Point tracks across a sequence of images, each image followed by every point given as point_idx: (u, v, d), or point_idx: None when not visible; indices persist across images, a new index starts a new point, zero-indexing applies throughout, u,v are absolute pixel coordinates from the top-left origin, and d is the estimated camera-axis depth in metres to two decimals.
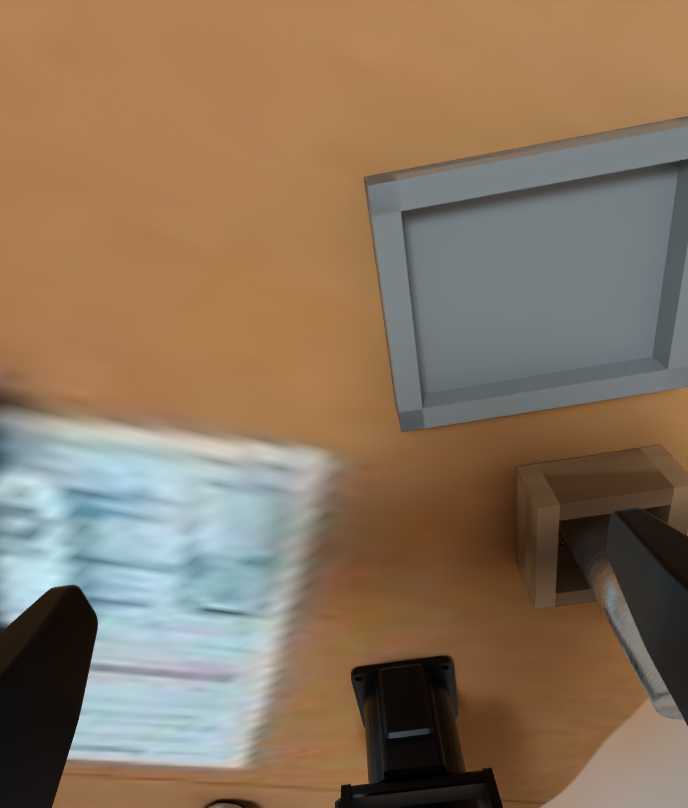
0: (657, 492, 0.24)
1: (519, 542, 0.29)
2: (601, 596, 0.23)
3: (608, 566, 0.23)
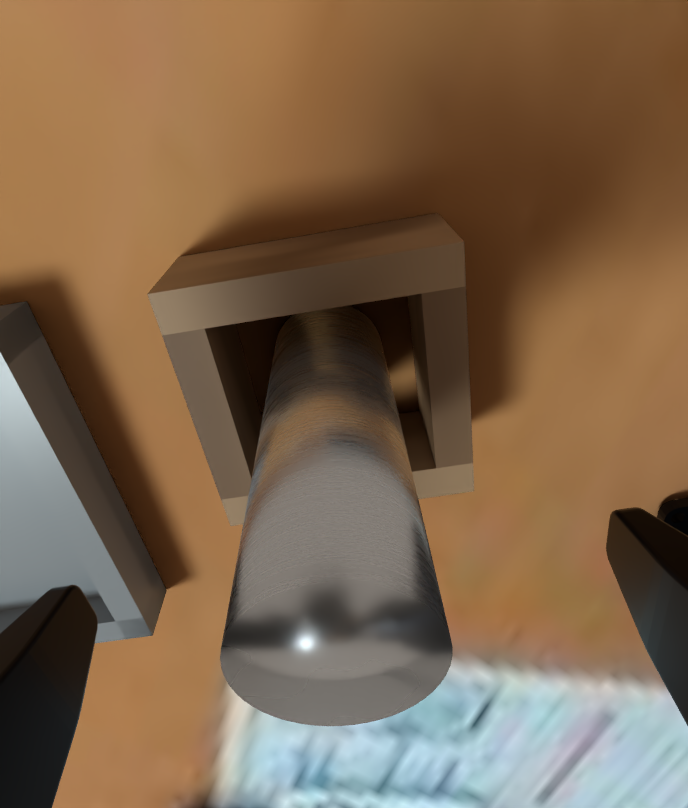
0: (177, 362, 0.13)
1: None
2: None
3: None
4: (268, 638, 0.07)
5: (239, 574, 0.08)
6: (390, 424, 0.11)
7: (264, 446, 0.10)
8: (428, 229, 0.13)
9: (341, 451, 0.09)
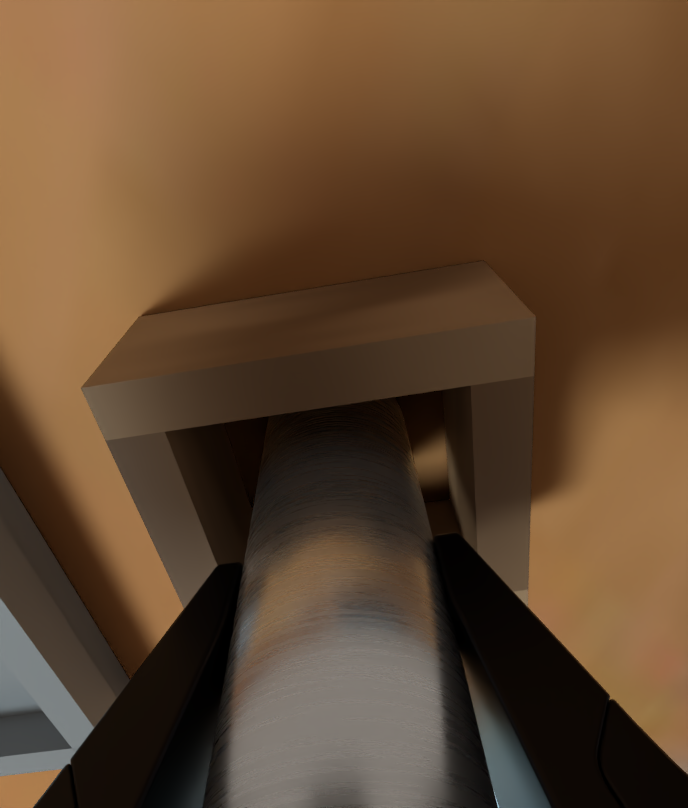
0: (128, 473, 0.09)
1: None
2: None
3: None
4: None
5: None
6: (432, 599, 0.07)
7: (241, 643, 0.07)
8: (476, 289, 0.09)
9: (363, 696, 0.05)
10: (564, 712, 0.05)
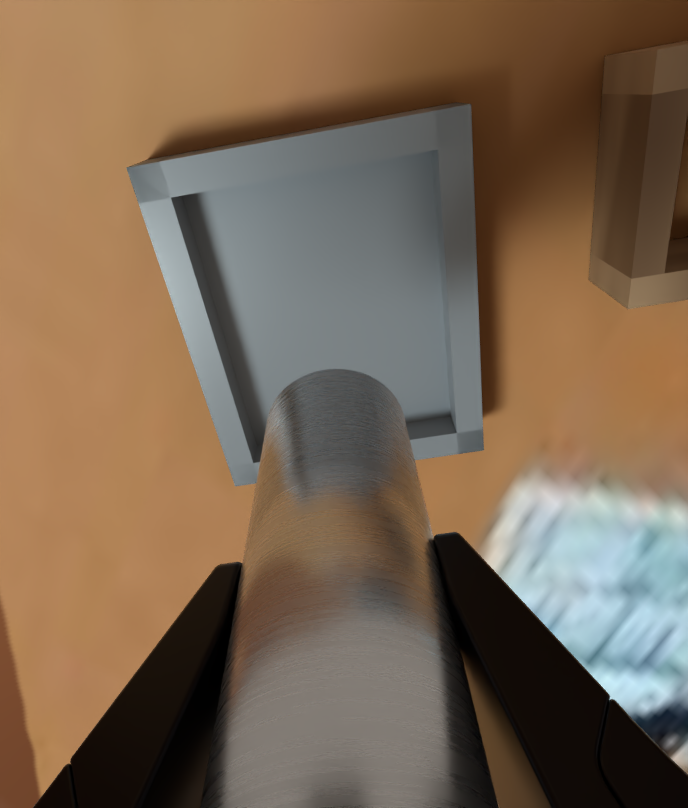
0: (653, 124, 0.14)
1: None
2: None
3: None
4: None
5: None
6: (433, 598, 0.07)
7: (240, 641, 0.07)
8: None
9: (363, 695, 0.05)
10: (564, 712, 0.05)
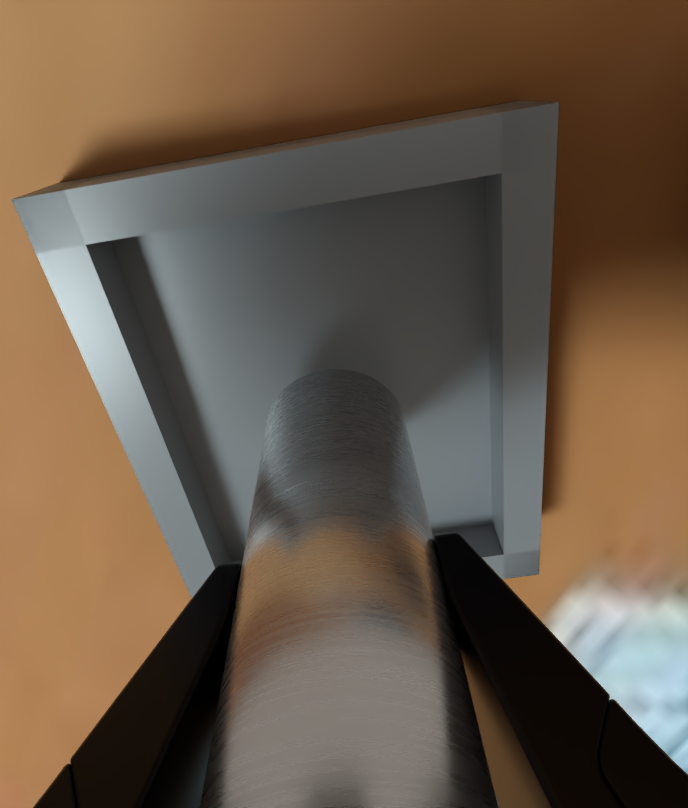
0: None
1: None
2: None
3: None
4: None
5: None
6: (433, 597, 0.07)
7: (240, 642, 0.07)
8: None
9: (363, 695, 0.05)
10: (564, 712, 0.05)
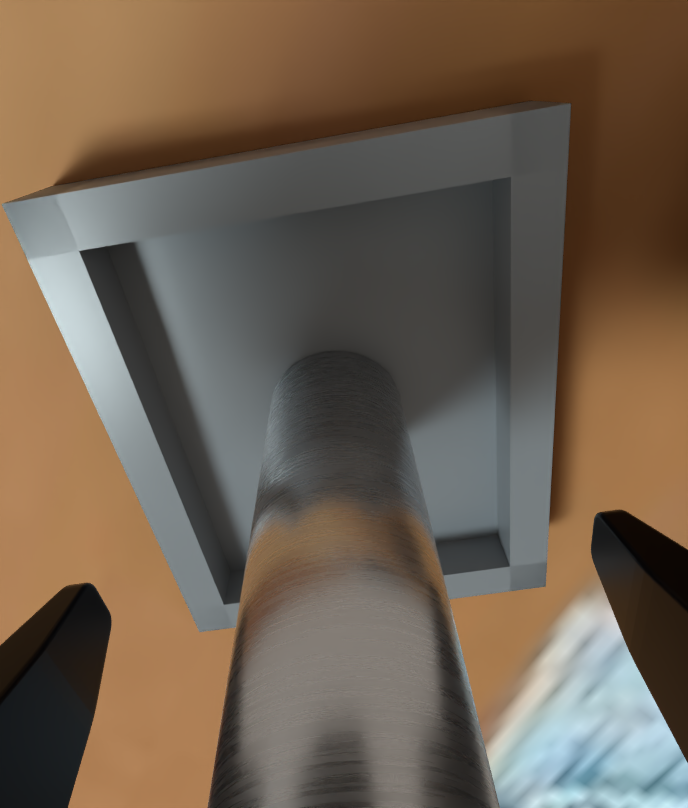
0: None
1: None
2: None
3: None
4: None
5: None
6: (424, 549, 0.08)
7: (253, 585, 0.07)
8: None
9: (361, 622, 0.06)
10: None
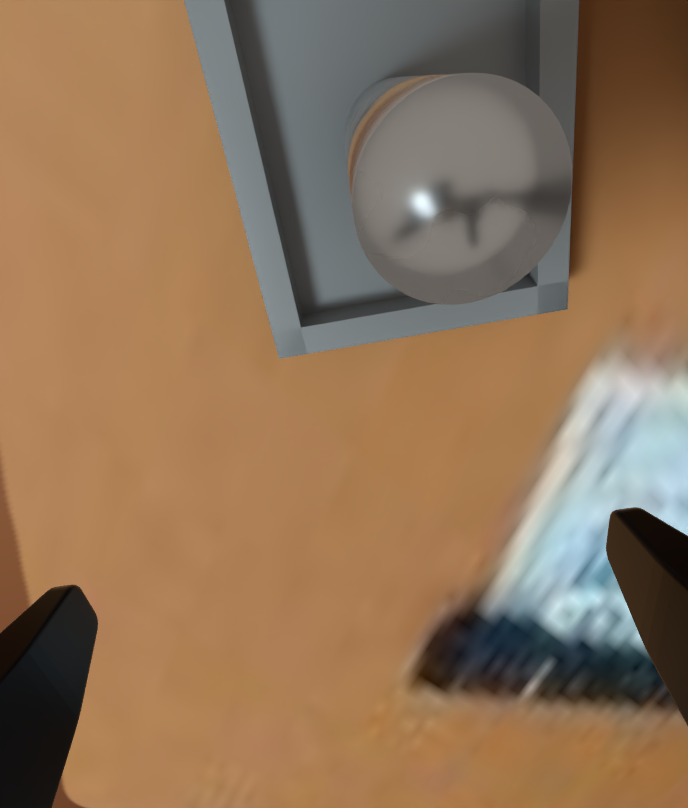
0: None
1: None
2: None
3: None
4: (400, 161, 0.08)
5: (364, 137, 0.08)
6: None
7: (362, 115, 0.11)
8: None
9: None
10: None
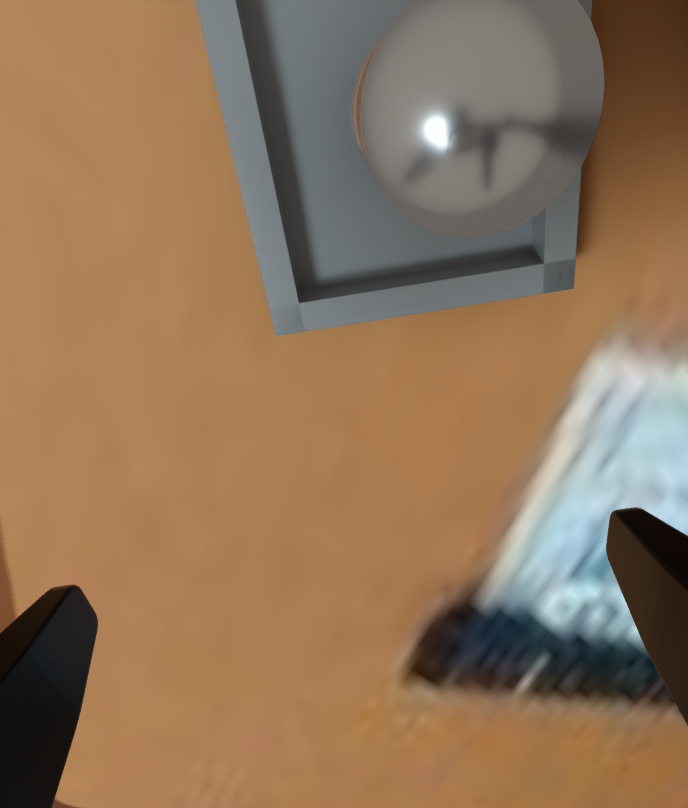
0: None
1: None
2: None
3: None
4: (415, 66, 0.07)
5: (374, 50, 0.07)
6: None
7: (369, 52, 0.10)
8: None
9: None
10: None
